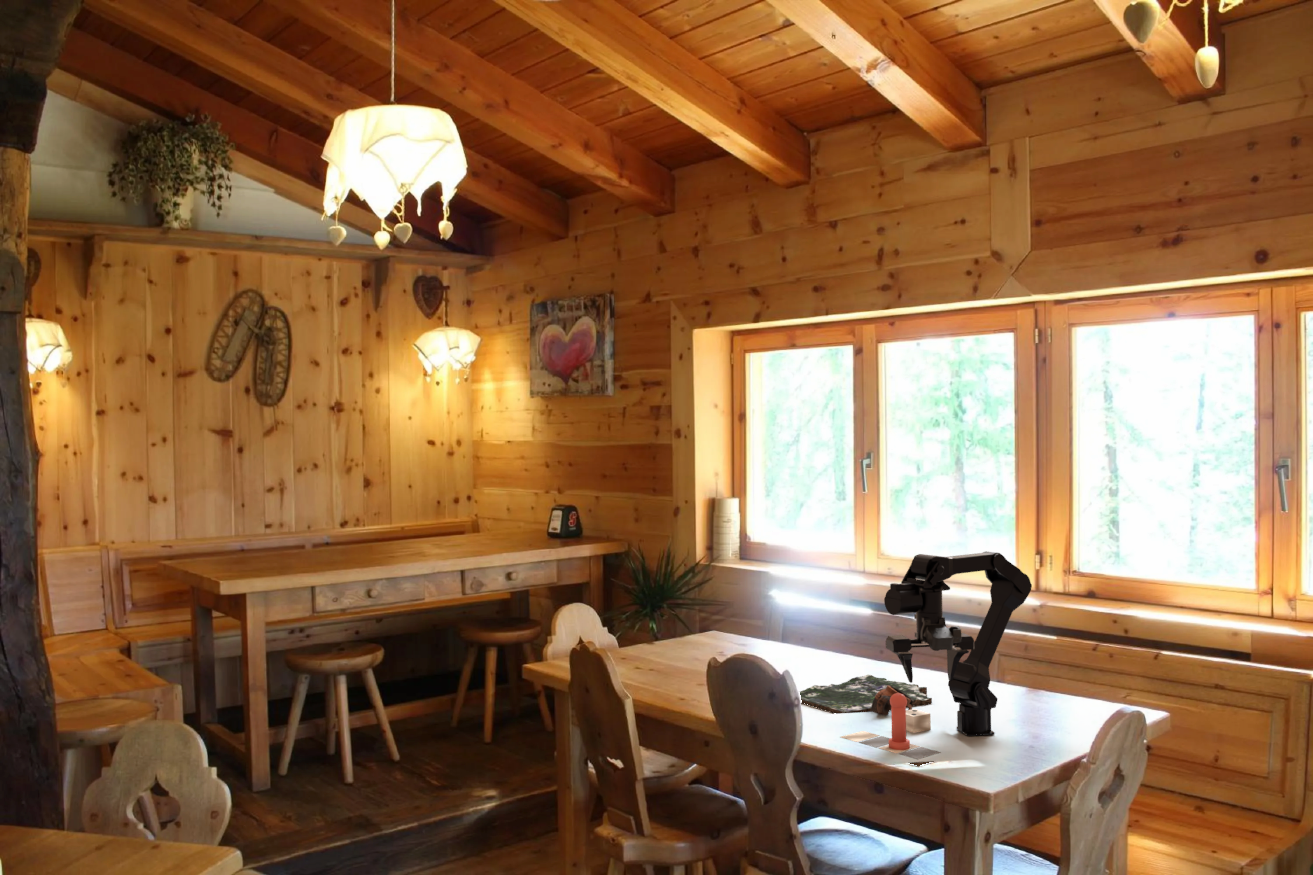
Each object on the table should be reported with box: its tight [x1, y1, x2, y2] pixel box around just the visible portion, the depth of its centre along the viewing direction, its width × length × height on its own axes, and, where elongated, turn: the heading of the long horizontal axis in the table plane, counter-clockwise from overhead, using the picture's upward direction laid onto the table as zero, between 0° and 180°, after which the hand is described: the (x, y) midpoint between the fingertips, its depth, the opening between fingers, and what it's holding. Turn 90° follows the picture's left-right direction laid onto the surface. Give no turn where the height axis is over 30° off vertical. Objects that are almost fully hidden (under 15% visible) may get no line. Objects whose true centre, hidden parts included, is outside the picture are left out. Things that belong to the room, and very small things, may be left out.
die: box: [906, 708, 932, 734], centre depth 236 cm, size 5×5×5 cm
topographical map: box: [799, 674, 933, 715], centre depth 269 cm, size 26×33×3 cm
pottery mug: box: [869, 685, 914, 716], centre depth 251 cm, size 12×10×8 cm
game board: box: [840, 730, 942, 767], centre depth 224 cm, size 23×9×1 cm, turn 37°
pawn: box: [888, 693, 911, 751], centre depth 222 cm, size 4×4×12 cm
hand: (930, 681), depth 231 cm, fingers open, 9 cm apart
